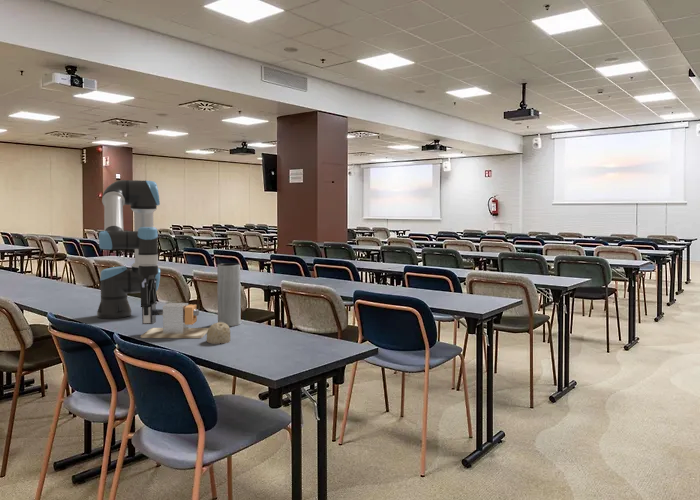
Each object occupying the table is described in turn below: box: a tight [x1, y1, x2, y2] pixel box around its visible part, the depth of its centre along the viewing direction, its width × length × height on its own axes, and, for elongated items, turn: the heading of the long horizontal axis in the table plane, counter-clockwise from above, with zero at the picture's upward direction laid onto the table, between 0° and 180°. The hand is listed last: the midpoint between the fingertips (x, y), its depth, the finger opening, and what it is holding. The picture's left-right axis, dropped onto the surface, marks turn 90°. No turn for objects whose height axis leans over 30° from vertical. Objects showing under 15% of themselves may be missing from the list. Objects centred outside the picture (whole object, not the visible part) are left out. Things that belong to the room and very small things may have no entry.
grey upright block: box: [162, 302, 189, 334], centre depth 225 cm, size 8×8×11 cm
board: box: [140, 327, 210, 339], centre depth 225 cm, size 24×14×1 cm, turn 92°
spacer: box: [185, 304, 198, 326], centre depth 225 cm, size 3×7×7 cm, turn 2°
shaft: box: [141, 303, 200, 325], centre depth 225 cm, size 22×4×8 cm, turn 92°
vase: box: [216, 262, 242, 327], centre depth 245 cm, size 10×10×27 cm
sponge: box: [206, 322, 231, 345], centre depth 214 cm, size 9×10×10 cm
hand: (149, 321), depth 225 cm, fingers closed on shaft, 4 cm apart
